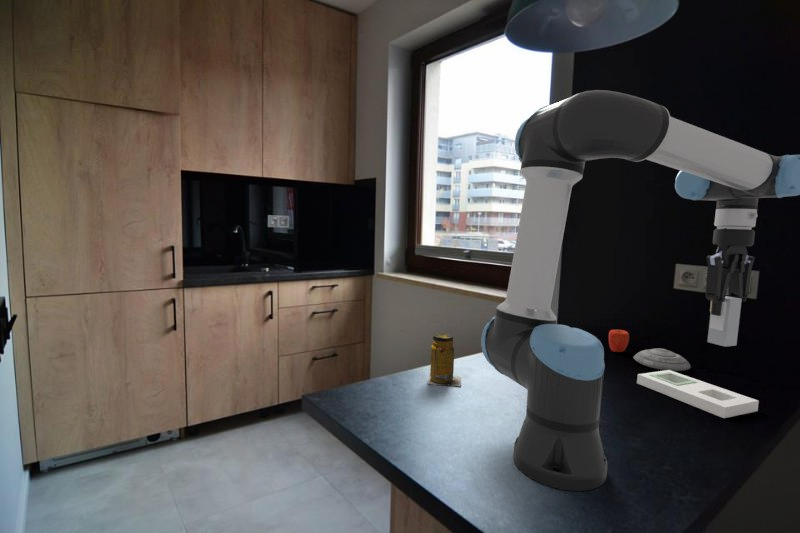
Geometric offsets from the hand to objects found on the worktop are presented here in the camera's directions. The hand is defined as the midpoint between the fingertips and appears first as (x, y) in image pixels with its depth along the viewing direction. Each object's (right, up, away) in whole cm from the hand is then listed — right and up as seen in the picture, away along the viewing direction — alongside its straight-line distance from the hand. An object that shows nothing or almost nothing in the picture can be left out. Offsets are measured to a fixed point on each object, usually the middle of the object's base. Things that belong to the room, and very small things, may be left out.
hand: (723, 328), depth 102 cm
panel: (-3, -18, +7) cm, 19 cm away
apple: (-3, -14, +44) cm, 47 cm away
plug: (0, -4, 0) cm, 4 cm away
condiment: (-64, -16, +12) cm, 67 cm away
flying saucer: (+4, -16, +31) cm, 35 cm away
